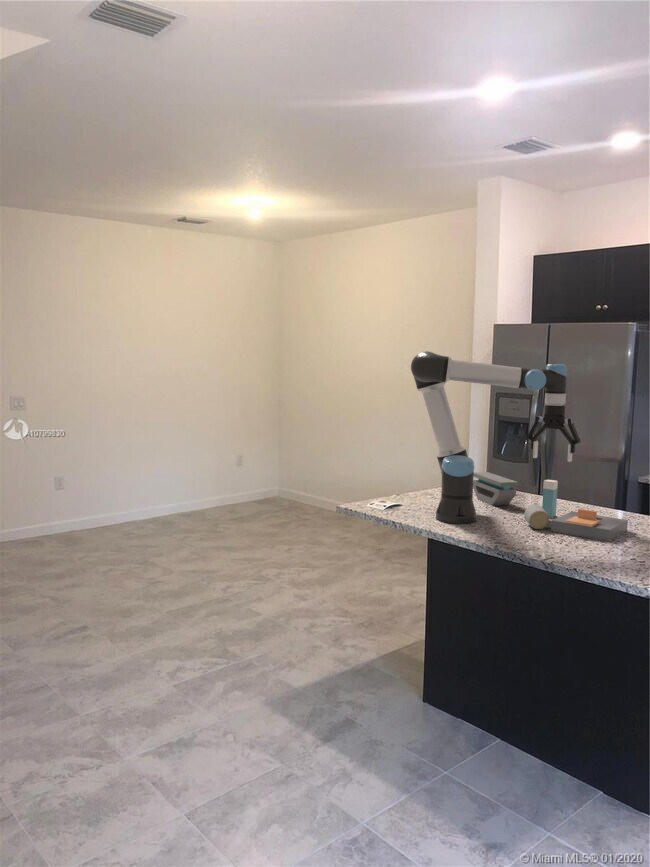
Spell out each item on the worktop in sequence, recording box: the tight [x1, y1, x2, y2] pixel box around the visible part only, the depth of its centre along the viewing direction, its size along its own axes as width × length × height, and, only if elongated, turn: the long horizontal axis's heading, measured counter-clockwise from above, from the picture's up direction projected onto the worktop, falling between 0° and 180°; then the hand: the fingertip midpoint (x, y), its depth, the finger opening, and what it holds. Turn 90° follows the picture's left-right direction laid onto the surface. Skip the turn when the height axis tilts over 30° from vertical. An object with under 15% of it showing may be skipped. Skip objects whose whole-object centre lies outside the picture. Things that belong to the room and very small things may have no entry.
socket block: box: [550, 510, 629, 542], centre depth 248 cm, size 20×20×4 cm
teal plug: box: [541, 479, 559, 519], centre depth 270 cm, size 4×4×14 cm
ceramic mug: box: [523, 504, 552, 530], centre depth 252 cm, size 11×8×8 cm
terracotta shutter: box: [566, 508, 601, 527], centre depth 243 cm, size 9×9×4 cm
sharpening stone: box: [473, 471, 519, 506], centre depth 295 cm, size 25×8×11 cm, turn 16°
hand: (552, 459), depth 268 cm, fingers open, 13 cm apart
